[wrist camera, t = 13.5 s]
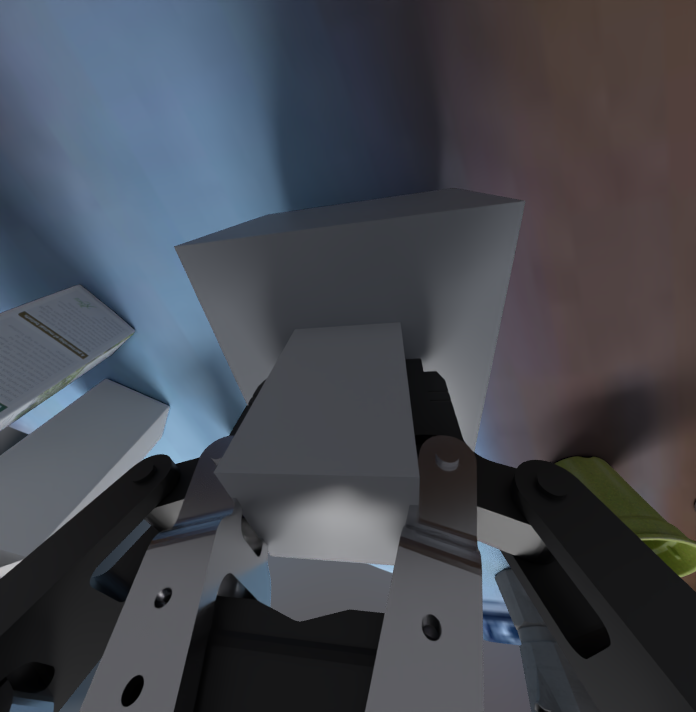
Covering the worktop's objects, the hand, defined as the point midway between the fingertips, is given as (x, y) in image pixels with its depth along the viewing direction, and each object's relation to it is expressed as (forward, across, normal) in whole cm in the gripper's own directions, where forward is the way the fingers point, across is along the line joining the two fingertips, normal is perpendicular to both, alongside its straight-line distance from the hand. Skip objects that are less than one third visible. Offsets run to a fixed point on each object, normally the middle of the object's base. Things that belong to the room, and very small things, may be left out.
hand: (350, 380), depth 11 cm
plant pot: (+12, -21, +24) cm, 34 cm away
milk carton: (+12, +29, +13) cm, 34 cm away
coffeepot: (+12, -23, +55) cm, 61 cm away
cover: (+9, 0, 0) cm, 9 cm away
